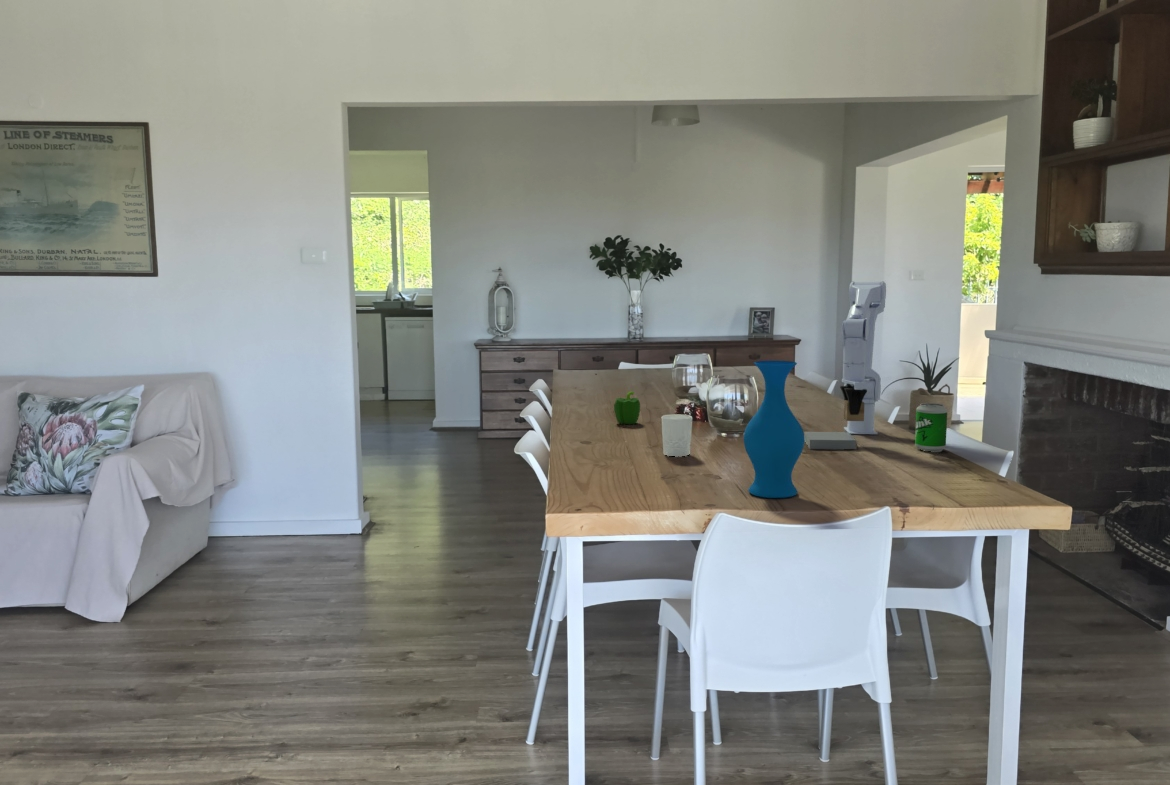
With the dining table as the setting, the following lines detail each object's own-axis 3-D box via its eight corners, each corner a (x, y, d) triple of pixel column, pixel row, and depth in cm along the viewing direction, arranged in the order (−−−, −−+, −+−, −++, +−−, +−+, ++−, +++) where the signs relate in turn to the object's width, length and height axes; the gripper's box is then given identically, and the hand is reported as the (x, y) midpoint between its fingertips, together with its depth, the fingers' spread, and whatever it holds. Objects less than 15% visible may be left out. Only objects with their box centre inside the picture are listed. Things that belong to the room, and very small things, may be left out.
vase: (736, 487, 191) (738, 360, 187) (793, 486, 191) (796, 359, 188) (750, 501, 179) (753, 366, 175) (811, 500, 180) (814, 365, 176)
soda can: (940, 447, 232) (942, 402, 231) (949, 453, 225) (951, 407, 223) (911, 447, 233) (913, 402, 231) (919, 452, 225) (921, 406, 224)
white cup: (688, 458, 221) (688, 419, 220) (658, 456, 224) (658, 418, 222) (694, 452, 228) (694, 414, 227) (665, 451, 231) (665, 413, 230)
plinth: (803, 440, 243) (804, 431, 243) (848, 441, 242) (848, 432, 242) (809, 449, 232) (809, 439, 231) (856, 449, 230) (856, 440, 230)
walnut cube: (843, 418, 240) (844, 400, 239) (860, 418, 239) (861, 400, 238) (846, 420, 235) (847, 402, 235) (863, 421, 235) (864, 402, 234)
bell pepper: (623, 426, 269) (623, 394, 267) (609, 422, 276) (609, 391, 274) (646, 424, 273) (646, 392, 271) (632, 420, 280) (632, 389, 278)
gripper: (875, 365, 228) (873, 417, 229) (863, 360, 242) (862, 409, 244) (847, 365, 228) (846, 417, 230) (837, 360, 243) (836, 409, 244)
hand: (852, 413), depth 237 cm, fingers closed on walnut cube, 4 cm apart
